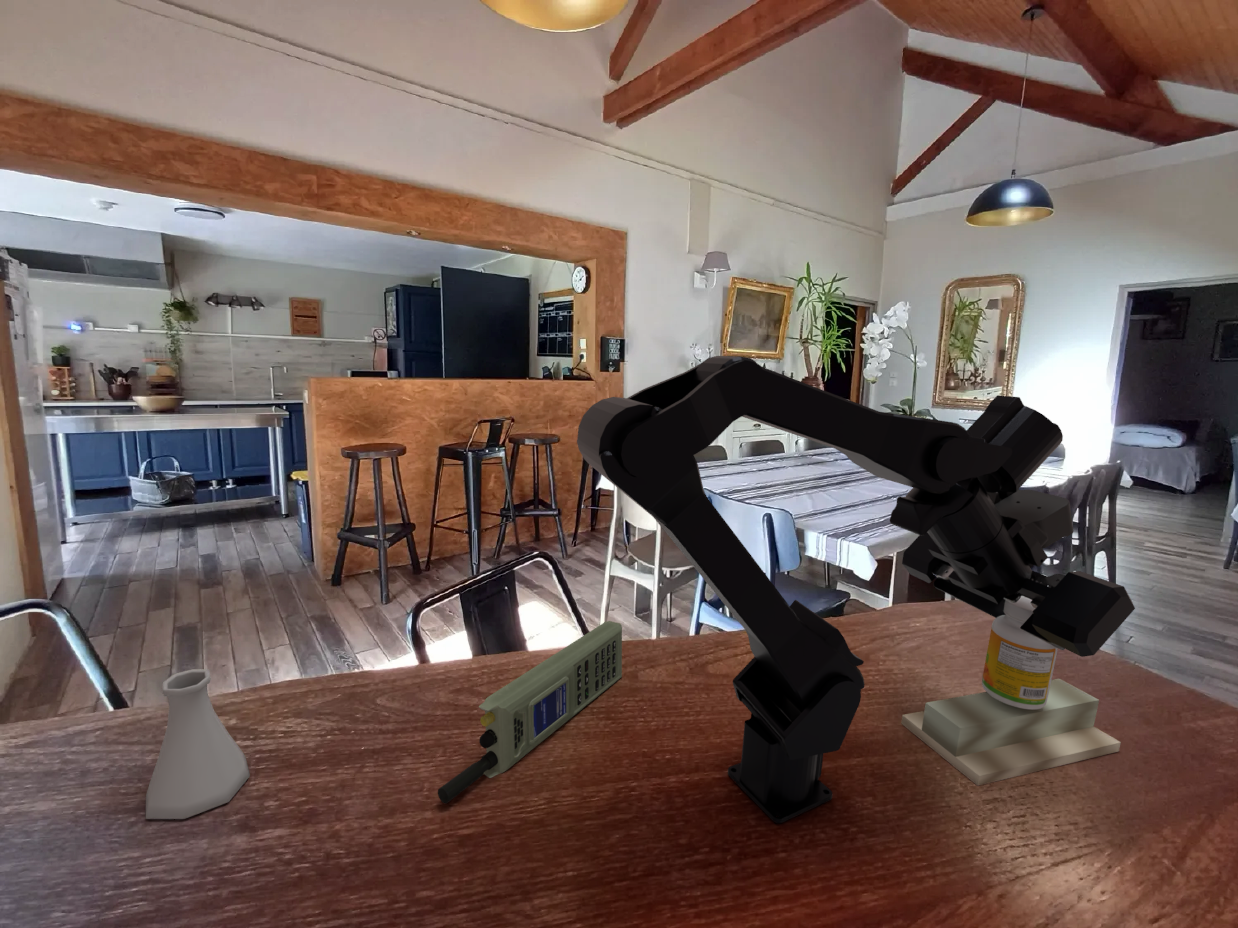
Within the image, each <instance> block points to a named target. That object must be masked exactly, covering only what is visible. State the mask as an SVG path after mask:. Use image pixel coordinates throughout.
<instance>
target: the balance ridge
mask: <svg viewBox="0 0 1238 928" xmlns="http://www.w3.org/2000/svg"><path fill="white" fill-rule="evenodd" d="M1099 702H1100V699H1098V698H1096V697H1094V696H1093V695H1091V694H1089V693H1087V692H1085V691H1084V690H1082V689H1080V688H1077V687H1076V686H1074V685H1072V684H1070V683H1068V682H1067V681H1065V680H1063V679H1061V678H1055V679H1051V684H1050V689H1049V694H1048V698H1047V703H1046V705H1045V706H1044V707H1043V708H1040V709H1035V710H1031V709H1023V708H1018V707H1014V706H1011V705H1008V704H1005V703H1003V702H1001V701H999V700H997V699H995V698H993V697H992V696H991V695H989V694H988V693H987V692H986V691H982V692H977V693H973V694H966V695H960V696H956V697H950V698H944V699H943V698H942V699H938V700H933V701H927V702H925V704H924V705H925V706H924V710H921V711H916V712H911V713H906V714H901V715H902V716H901V721H900V722H901V725H902V726H903V727H905V728H906V729H907V730H908V731H910V732H911V733H912V734H913V735H915V736H916V738H918V739H920V740H921V741H922V742H923V743H924V744H926V745H927V746H928V747H930V748H931V749H932V750H933V751H934V752H936V754H938V755H939V756H940V757H941V758H943V759H944V760H945V761H947V762H948V763H949V764H950V765H951V766H952V767H954V768H955V769H956V770H957V771H959V772H960V773H961V774H962V775H964V776H965V777H966V778H968V779H969V780H970V781H971V782H973V784H975V785H976V786H977V787H978V786H982V785H987V784H989V783H994V782H999V781H1002V780H1006V779H1007V780H1008V779H1011V778H1015V777H1019V776H1024V775H1027V774H1031V773H1035V772H1039V771H1044V770H1048V769H1052V768H1057V767H1060V766H1064V765H1068V764H1073V763H1077V762H1081V761H1085V760H1089V759H1094V758H1098V757H1101V756H1106V755H1109V754H1113V753H1119V752H1120V747H1121V741H1120V740H1118V739H1116V738H1115V737H1113V736H1110V734H1108V733H1106V732H1103V731H1102V730H1100V729H1099V728H1098V727H1095V726H1094V725H1095V721H1096V717H1097V711H1098V707H1099Z"/></svg>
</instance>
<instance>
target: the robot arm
mask: <svg viewBox="0 0 1238 928" xmlns="http://www.w3.org/2000/svg"><path fill="white" fill-rule="evenodd" d="M740 418H745V419H747V420H751V421H754V422H757V423H760V424H762V425H765V426H768V427H771V428H775V429H778V430H780V431H784V432H786V433H789V434H792V435H793V436H794V435H795V436H798V437H801V438H804V439H806V440H810V441H812V442H814V443H818V444H820V445H824V446H826V447H827V446H828V447H830V448H833V449H835V450H837V451H839V452H840V453H841V454H844V455H845V457H847V458H848V459H849V460H850V461H851V462H852V463H853V464H855V465H856V466H859V467H860V468H861V469H862V470H865V471H866V472H869V474H872V475H873V476H875V477H877V478H880V479H883V480H887V481H891V482H894V483H897V484H899V485H903V486H907V487H910V488H911V489H910V490H909V492H907V494H906V495H905V496H898V497H897V499H896V505H895V507H894V508H893V509H892V511H891V514H890V517H889V523H890V524H891V525H892V526H895V527H897V528H900V529H903V530H906V531H908V532H911V533H913V534H916V535H918V536H917V537H916V539H914V540H913V541H912V542H911V543H910V545H909V546H908V547H907V548H906V549H904V551H903V554H902V563H901V564H902V565H903V567H904V568H905V569H906V571H907V572H908V574H909V575H911V576H913V577H915V578H917V579H919V580H921V581H924V582H926V583H928V584H930V583H931V582H933V587H935V589H937V590H938V591H941V592H943V593H945V594H947V595H949V596H951V597H953V598H955V599H957V600H959V601H961V602H963V603H965V604H967V605H968V606H972V607H973V608H975V609H977V610H979V611H981V612H983V613H985V614H986V615H987V614H988V615H989V616H991V617H993V618H994V619H995V618H997V617H999V616H1002V615H1006V614H1005V613H1004V611H1003V610H1004V605H1005V600H1008V601H1010V602H1012V603H1016V602H1017V601H1018V600H1019V599H1020V598H1021V596H1024V597H1026V598H1029V599H1031V600H1032V601H1031V602H1030V603H1031V605H1032V606H1033V607H1034V608H1036V609H1034V610H1033V614H1032V615H1031V616H1030V617H1029V618H1028V619H1027V620H1026V621H1025V623H1024V624H1023V625H1022V626H1021V627H1020V629H1022V630H1024V631H1026V632H1027V633H1029V634H1031V635H1033V636H1035V637H1037V638H1039V639H1041V640H1043V641H1045V642H1047V643H1049V644H1051V645H1053V646H1055V647H1056V648H1058V650H1061V651H1064V650H1067V651H1069V652H1071V653H1073V654H1075V655H1077V656H1079V657H1082V658H1083V657H1091V656H1092V657H1093V656H1095V655H1096V653H1098V651H1099V650H1100V649H1101V648H1102V647H1103V646H1104V644H1105V643H1106V642H1107V641H1108V640H1109V639H1110V638H1111V636H1112V635H1114V633H1115V632H1116V631H1117V630H1118V629H1119V628H1120V626H1121V625H1122V624H1123V623H1124V622H1125V621H1126V620H1127V619H1128V618H1129V616H1130V615H1132V613H1133V612H1134V610H1136V607H1135V605H1134V603H1133V601H1132V598H1131V597H1130V595H1129V593H1128V591H1127V589H1126V588H1125V586H1124V585H1120V584H1119V583H1118V584H1117V583H1116V582H1111V581H1109V580H1107V579H1103V578H1101V577H1099V576H1095V575H1092V574H1089V573H1087V572H1083V571H1081V570H1076V571H1075V570H1074V571H1068V572H1067V573H1066V574H1062V573H1054V574H1052V575H1049V576H1048V575H1046V574H1043V573H1039V572H1037V571H1035V570H1033V569H1032V568H1033V567H1034V566H1035V567H1037V568H1039V567H1041V566H1042V565H1043V563H1044V562H1045V561H1046V560H1047V559H1048V558H1049V556H1048V555H1047V553H1046V552H1045V550H1044V549H1046V548H1048V547H1049V546H1051V545H1053V544H1054V543H1056V542H1058V541H1060V540H1061V539H1062V538H1064V537H1069V536H1071V535H1072V534H1073V533H1074V526H1073V524H1074V523H1073V518H1072V517H1073V516H1072V512H1071V503H1070V500H1069V499H1068V498H1065V497H1062V496H1059V495H1054V494H1050V493H1046V492H1042V491H1038V490H1033V489H1020V488H1021V487H1022V486H1023V485H1024V484H1025V483H1026V482H1027V481H1028V479H1029V478H1030V477H1031V476H1032V475H1034V473H1035V472H1036V471H1037V470H1038V469H1039V468H1040V466H1042V465H1043V464H1044V463H1045V461H1046V460H1047V459H1048V458H1049V457H1050V456H1051V455H1052V454H1053V453H1054V451H1056V449H1057V448H1059V446H1060V445H1061V444H1062V442H1063V441H1064V439H1063V437H1064V435H1063V432H1062V430H1061V428H1060V427H1059V425H1058V424H1057V423H1054V422H1052V420H1051V419H1049V418H1048V417H1046V416H1045V414H1043V413H1041V412H1039V411H1037V410H1035V409H1034V408H1031V407H1029V406H1027V405H1024V402H1023V401H1022V399H1021V397H1019V396H1011V395H996V396H995V397H994V398H993V399H992V400H991V402H989V404H988V405H987V407H986V409H985V410H984V411H983V413H981V414H980V415H979V417H977V419H976V420H975V421H973V423H972V424H970V426H969V427H968V428H967V429H966V428H965V427H963V426H962V425H960V424H959V423H956V422H953V421H946V420H938V419H932V418H924V417H919V416H913V415H912V416H911V415H906V414H905V415H904V414H899V413H891V412H883V411H879V410H875V409H874V408H870V407H868V406H866V405H863V404H860V403H858V402H855V401H852V400H850V399H847V398H844V397H842V396H839V395H837V394H835V393H832V392H828V391H826V390H824V389H821V388H819V387H815V386H813V385H811V384H808V383H805V382H803V381H800V380H798V379H796V378H792V377H790V376H787V375H785V374H782V373H780V372H776V371H775V370H774V371H773V370H772V369H770V368H767V367H763V366H761V364H759V363H757V362H756V361H755V360H754V359H752V358H751V357H746V356H745V357H744V356H735V355H734V356H733V355H731V356H730V355H713V356H710V357H708V358H706V359H704V360H703V361H701V362H700V363H699V364H697V365H695V366H693V367H692V368H690V369H688V370H686V371H684V372H682V373H679V374H677V375H675V376H672V377H670V378H666V379H665V380H662V381H660V382H658V383H655V384H653V385H651V386H647V387H645V388H643V389H641V390H638V391H637V392H636V393H634V394H632V395H630V396H628V397H627V398H626V397H621V396H611V397H606V398H603V399H600V400H599V401H597V402H595V403H594V404H592V405H591V406H590V407H589V408H588V409H587V410H586V411H585V413H584V414H583V415H582V417H581V420H580V422H579V424H578V431H577V436H576V437H577V438H576V443H577V445H576V446H577V448H578V451H579V453H580V454H581V455H582V457H583V459H584V461H586V462H587V464H588V465H589V466H590V467H592V468H593V469H595V471H597V472H598V473H599V474H601V476H602V477H604V478H605V479H606V480H608V481H609V482H610V483H611V484H612V485H614V486H615V487H616V488H617V489H619V490H620V491H621V492H622V493H623V494H625V495H626V497H628V498H629V499H631V500H632V501H633V502H634V503H635V504H637V505H638V506H639V507H641V509H643V510H644V511H645V512H647V513H648V514H649V515H650V516H652V518H653V519H654V520H655V521H656V522H657V524H658V525H659V527H661V529H663V531H664V532H665V533H666V534H667V536H668V537H669V538H670V539H671V541H672V542H673V543H674V545H675V546H676V547H677V548H678V549H679V551H680V552H681V553H682V554H683V556H684V557H685V558H686V559H687V560H688V562H689V563H690V564H691V565H692V567H694V569H695V570H696V571H697V573H698V574H699V575H700V576H701V578H702V579H703V580H704V581H705V582H706V583H707V585H708V586H709V588H711V590H712V591H713V592H714V594H716V596H717V597H718V598H719V600H721V602H722V603H723V604H724V606H725V607H726V609H728V611H729V612H730V613H731V614H732V615H733V617H734V618H735V619H736V621H737V622H738V623H739V624H740V625H741V626H742V628H743V629H744V631H745V632H746V634H747V638H748V641H749V643H748V644H749V646H750V647H749V648H750V651H751V652H752V655H753V658H752V659H751V660H750V661H749V662H747V664H746V665H745V666H744V667H743V668H742V669H741V670H740V671H739V673H738V674H737V675H736V676H735V677H734V678H733V679H732V685H733V689H734V693H735V695H736V698H737V700H739V702H741V703H743V705H744V706H745V708H746V709H748V710H749V712H750V713H751V714H750V718H748V719H746V720H744V724H743V725H744V727H743V738H742V748H741V761H740V762H738V763H736V764H732V765H731V766H729V767H728V768H727V776H729V777H730V779H732V781H733V782H734V783H735V784H736V785H737V786H739V788H740V789H741V790H742V791H743V792H744V793H745V794H746V795H747V796H748V797H749V798H750V799H751V800H752V801H753V802H754V803H755V804H756V805H757V806H758V807H759V808H760V810H762V811H763V813H765V814H766V815H767V817H769V818H770V820H772V821H773V822H774V823H776V824H783V823H785V822H787V821H789V820H791V819H793V818H796V817H797V816H799V815H801V814H803V813H805V812H808V811H809V810H812V809H814V808H816V807H819V806H821V805H822V804H825V803H827V802H829V801H831V800H832V799H833V791H832V790H831V789H830V788H829V787H827V785H825V784H824V783H823V782H822V781H821V780H820V779H819V778H820V777H821V776H822V769H823V761H824V760H823V759H824V754H828V753H833V752H837V751H839V750H840V749H841V747H842V744H843V742H844V740H845V738H846V735H847V733H848V731H849V729H850V726H851V724H852V722H853V719H854V717H855V716H856V713H857V710H858V709H859V706H860V703H861V698H862V694H861V693H862V690H863V689H864V688H865V684H866V683H865V678H864V676H863V674H862V672H861V670H860V669H859V666H862V665H863V664H864V660H863V659H862V658H860V657H859V656H857V654H855V653H853V652H852V651H851V650H850V648H849V645H848V643H847V641H846V638H845V637H844V636H843V634H842V633H841V631H840V630H839V629H838V628H837V627H835V626H834V625H833V624H831V623H829V622H828V621H827V620H826V619H824V618H823V617H821V616H819V615H818V614H817V613H815V612H814V611H813V610H811V609H810V608H809V607H807V606H805V605H804V604H802V603H801V602H800V601H799V600H797V599H794V600H793V602H792V603H791V604H789V603H788V602H787V601H786V599H785V598H784V596H783V595H782V594H781V593H780V592H779V590H778V589H777V587H776V586H775V585H774V584H773V582H772V580H770V578H769V577H768V576H767V574H766V573H765V571H764V570H763V569H762V567H760V565H759V563H757V561H756V560H755V559H754V557H753V556H752V554H751V553H750V552H749V551H748V549H747V548H746V547H745V545H744V544H743V543H742V541H741V540H740V539H739V537H738V536H737V535H736V534H735V532H734V531H733V530H732V528H731V527H730V525H729V524H728V523H727V521H726V520H725V519H724V518H723V516H722V515H721V514H720V513H719V511H718V510H717V508H716V507H715V506H714V505H713V504H712V501H710V499H709V497H707V494H706V493H705V489H704V485H703V482H702V477H701V473H700V468H699V464H698V462H697V459H696V457H695V455H697V454H698V453H700V452H702V451H703V450H705V449H707V448H708V447H710V446H711V445H712V444H713V443H714V442H715V440H717V439H718V438H719V437H720V436H721V435H722V434H723V433H724V432H725V430H727V428H729V426H731V425H732V423H733V422H734V421H736V420H738V419H740ZM935 578H936V579H935Z"/></svg>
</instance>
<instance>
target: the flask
mask: <svg viewBox="0 0 1238 928" xmlns="http://www.w3.org/2000/svg"><path fill="white" fill-rule="evenodd" d="M210 683H211V673H210V669H209V668H207V669H206V668H203V669H202V668H201V669H200V668H192V669H188V670H184V671H180V672H177V673H173V674H171V676H169V677H168V678H166V679H165V680H164V681H163V682H162V683H161V686H162V688H161V689H162V690H161V691H162V694H163V696H164V697H167V700H168V716H167V724H166V725H167V726H166V730H165V732H164V733H165V734H164V737H163V739H162V743H161V747H160V751H159V754H158V757H157V760H156V764H155V767H154V769H153V773H152V775H151V778H150V781H149V784H148V788H147V791H146V795H145V819H146V820H174V819H175V820H185V819H188V818H190V817H193V816H196V815H198V814H200V813H201V814H202V813H203V812H206V811H210V810H212V809H215V808H217V807H219V806H222V805H224V804H226V803H229V802H230V801H231V800H232V799H233V797H234V796H235V795H236V794H237V792H238V791H239V790H240V789H241V788H242V786H243V785H244V784H245V783H246V782H247V780H248V779H249V778H250V776H251V775H250V769H249V765H248V762H247V757H246V755H245V754H244V753H243V750H242V749H241V748H240V746H239V745H238V744H237V743H236V741H235V739H234V738H233V737H232V736H231V735H230V733H229V732H228V730H227V728H226V727H225V725H224V723H223V722H222V721H221V719H220V718H219V716H218V714H217V713H216V711H215V710H214V706H213V705H212V704H213V703H212V701H211V698H210V696H209V693H208V692H209V690H208V684H210Z"/></svg>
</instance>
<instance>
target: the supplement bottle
mask: <svg viewBox="0 0 1238 928" xmlns="http://www.w3.org/2000/svg"><path fill="white" fill-rule="evenodd" d="M1031 601H1032V600H1031V599H1029V598H1026V597H1024V596H1022V595H1021V598H1020V599H1019V600H1018V601H1017V602H1016V603H1012V602H1010V601H1008V600H1005V605H1004V610H1003V611H1004V613H1005V614H1006V615H1002V616H999V617H997V618H995V617H994V620H993V621H992V623H991V624H992V625H991V629H990V633H989V639H988V645H987V649H986V656H985V660H984V666H983V670H982V671H983V672H982V676H981V678H982V679H981V686H982V688H983V690H984V692H987V693H988V694H989V695H991V696H992V697H993V698H995V699H997V700H999V701H1001V702H1003V703H1005V704H1008V705H1011V706H1014V707H1018V708H1023V709H1031V710H1035V709H1040V708H1043V707H1044V706H1045V705H1046V703H1047V698H1048V694H1049V689H1050V684H1051V680H1053V678H1052V677H1053V674H1054V668H1055V664H1056V659H1057V654H1058V650H1059V649H1058V648H1056V647H1055V646H1053V645H1051V644H1049V643H1047V642H1045V641H1043V640H1041V639H1039V638H1037V637H1035V636H1033V635H1031V634H1029V633H1027V632H1026V631H1024V630H1022V629H1020V627H1021V626H1022V625H1023V624H1024V623H1025V621H1026V620H1027V619H1028V618H1029V617H1030V616H1031V615H1032V614H1033V610H1034V609H1036V608H1034V607H1033V606H1032V605H1031V603H1030V602H1031Z"/></svg>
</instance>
